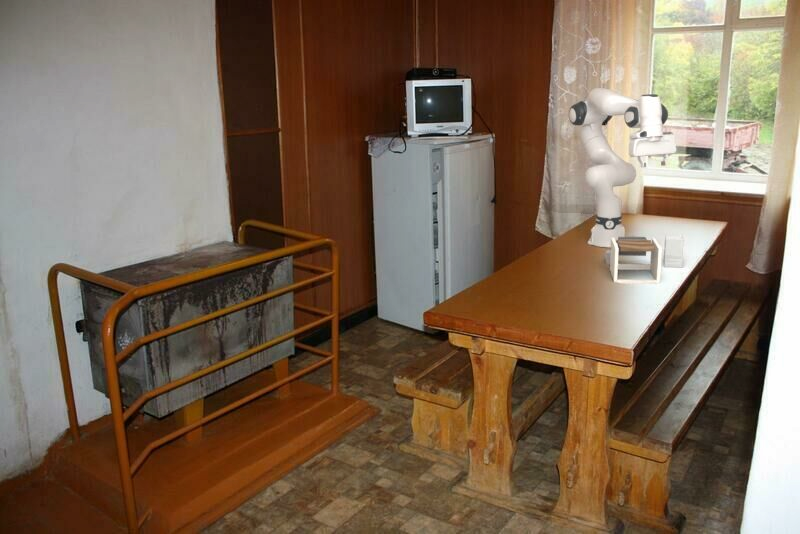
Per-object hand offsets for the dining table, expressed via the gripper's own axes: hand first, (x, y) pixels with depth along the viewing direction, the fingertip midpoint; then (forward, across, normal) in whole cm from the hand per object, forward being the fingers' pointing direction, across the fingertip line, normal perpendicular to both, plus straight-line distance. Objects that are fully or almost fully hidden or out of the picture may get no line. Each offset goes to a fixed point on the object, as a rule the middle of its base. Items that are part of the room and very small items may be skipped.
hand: (653, 166), depth 292 cm
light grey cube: (+40, +13, -16) cm, 45 cm away
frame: (+44, +15, +5) cm, 47 cm away
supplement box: (+43, -8, -3) cm, 44 cm away
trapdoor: (+37, +14, +4) cm, 40 cm away
